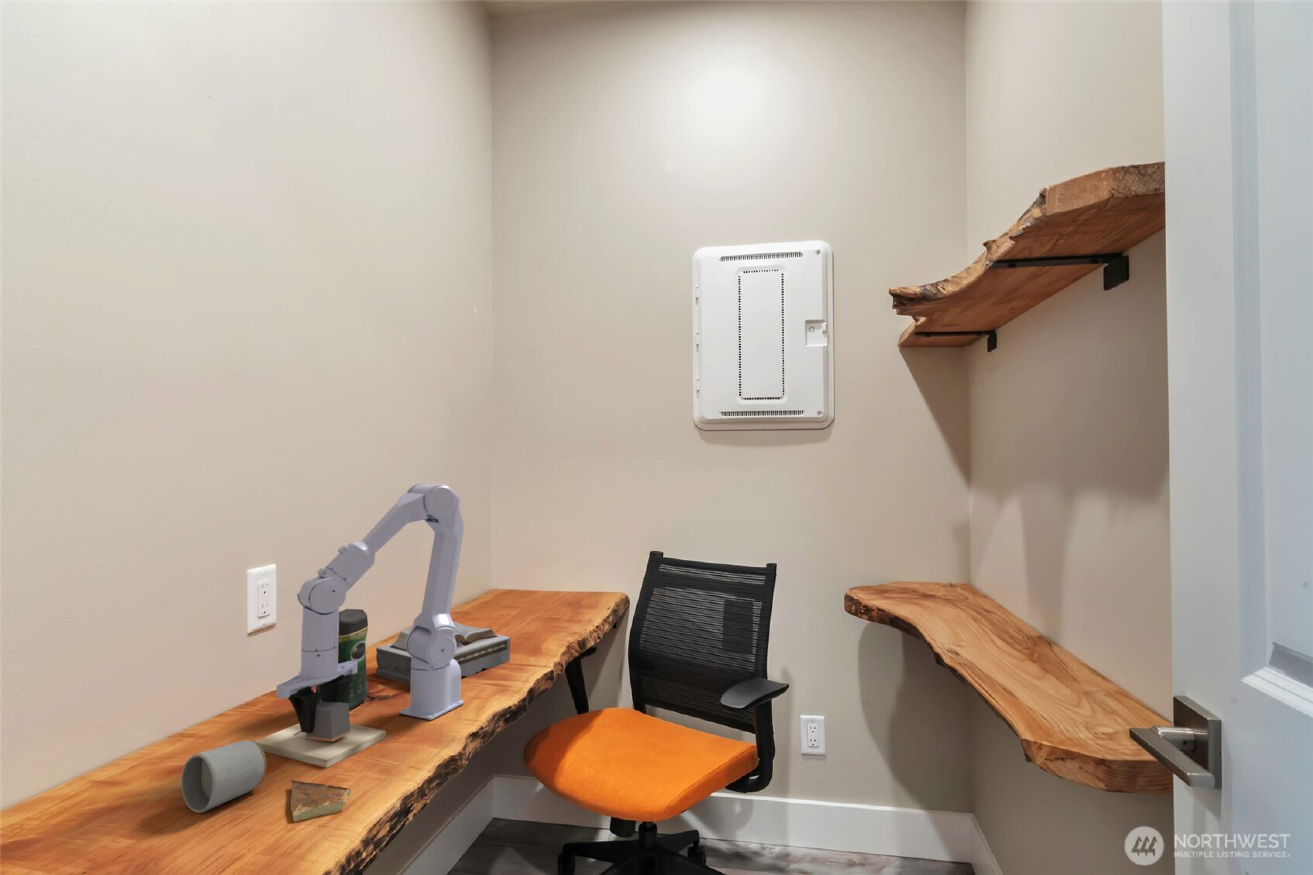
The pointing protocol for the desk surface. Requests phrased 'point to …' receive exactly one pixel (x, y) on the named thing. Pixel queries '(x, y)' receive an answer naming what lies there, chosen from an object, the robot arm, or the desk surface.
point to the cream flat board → (319, 744)
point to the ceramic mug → (222, 774)
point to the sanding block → (330, 721)
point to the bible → (471, 655)
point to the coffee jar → (353, 654)
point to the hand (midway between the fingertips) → (317, 727)
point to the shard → (316, 799)
